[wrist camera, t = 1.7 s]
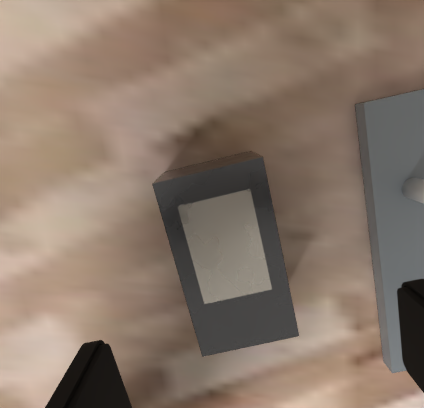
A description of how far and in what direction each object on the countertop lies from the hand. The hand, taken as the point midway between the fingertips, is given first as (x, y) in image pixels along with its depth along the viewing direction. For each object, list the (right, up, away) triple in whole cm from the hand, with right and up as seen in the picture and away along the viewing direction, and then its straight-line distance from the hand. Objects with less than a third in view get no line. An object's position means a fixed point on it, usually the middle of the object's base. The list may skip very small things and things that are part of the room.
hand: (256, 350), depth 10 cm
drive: (0, +2, +13) cm, 13 cm away
